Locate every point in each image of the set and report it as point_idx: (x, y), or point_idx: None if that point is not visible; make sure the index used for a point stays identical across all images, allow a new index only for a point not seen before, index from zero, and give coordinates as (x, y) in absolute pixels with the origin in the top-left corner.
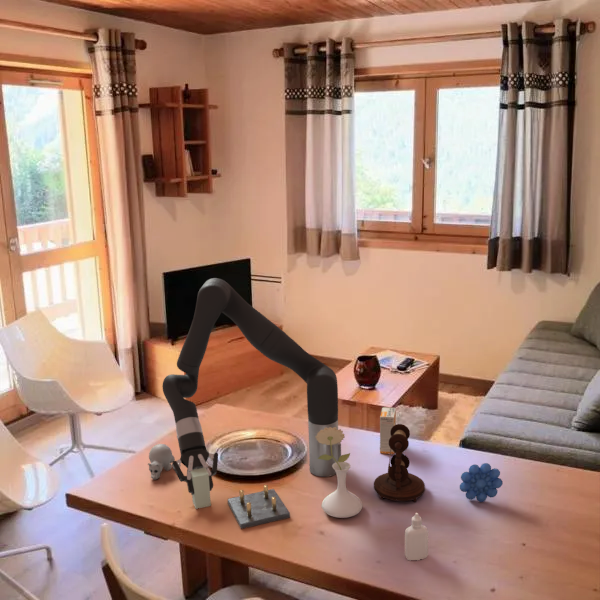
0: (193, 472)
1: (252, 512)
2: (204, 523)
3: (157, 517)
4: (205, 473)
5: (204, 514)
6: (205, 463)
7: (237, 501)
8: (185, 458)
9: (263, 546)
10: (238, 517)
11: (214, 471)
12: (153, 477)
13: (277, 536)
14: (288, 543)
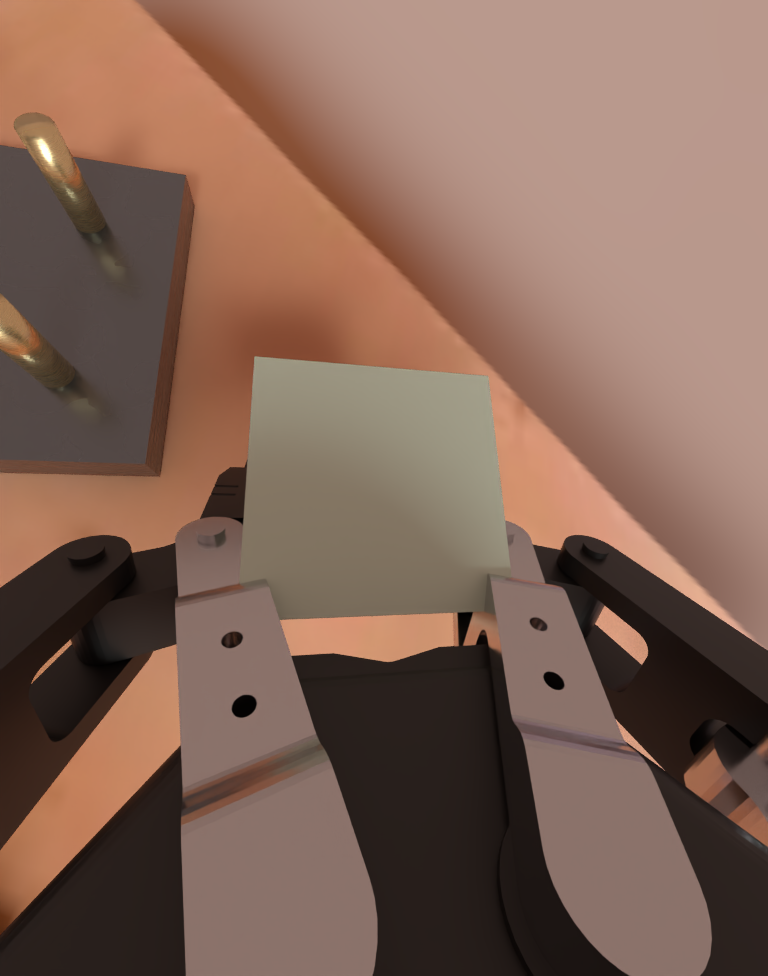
0: (471, 508)
1: (54, 231)
2: (367, 338)
3: (603, 504)
4: (296, 395)
5: None
6: (199, 652)
7: (87, 397)
8: (763, 935)
9: (149, 59)
10: (170, 230)
11: (107, 548)
12: None
13: (39, 74)
14: (20, 14)
